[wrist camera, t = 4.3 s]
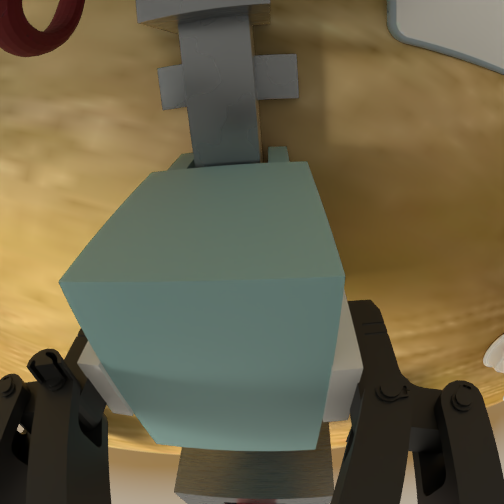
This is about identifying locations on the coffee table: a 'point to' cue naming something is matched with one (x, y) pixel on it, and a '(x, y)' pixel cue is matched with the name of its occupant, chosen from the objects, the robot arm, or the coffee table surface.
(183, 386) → the block
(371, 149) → the coffee table surface
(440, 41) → the smartphone
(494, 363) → the candle
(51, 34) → the mug
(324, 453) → the gray button box
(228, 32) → the rail
